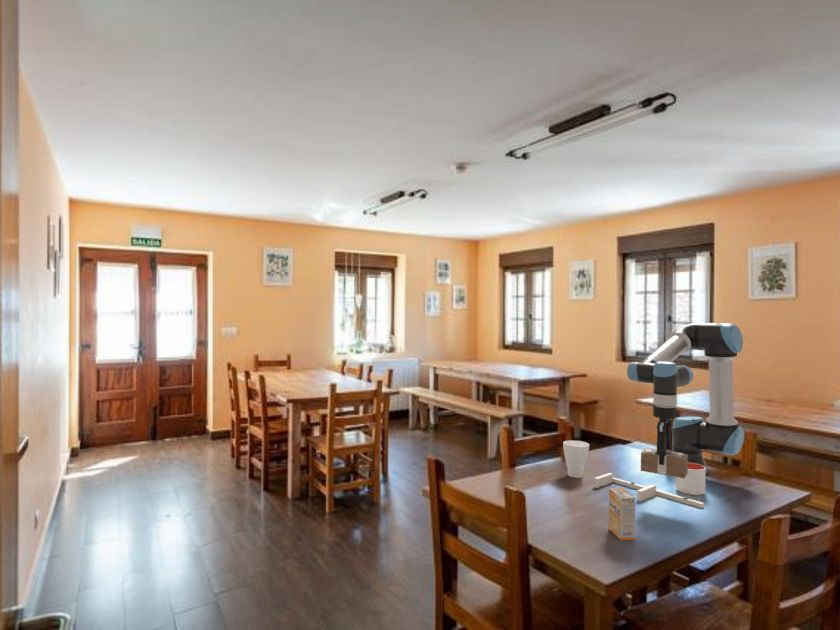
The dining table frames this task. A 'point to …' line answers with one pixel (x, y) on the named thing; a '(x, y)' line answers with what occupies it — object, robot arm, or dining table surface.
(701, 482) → the cup
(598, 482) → the notch rail
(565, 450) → the cup
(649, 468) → the wooden block
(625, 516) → the supplement box
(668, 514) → the dining table surface
